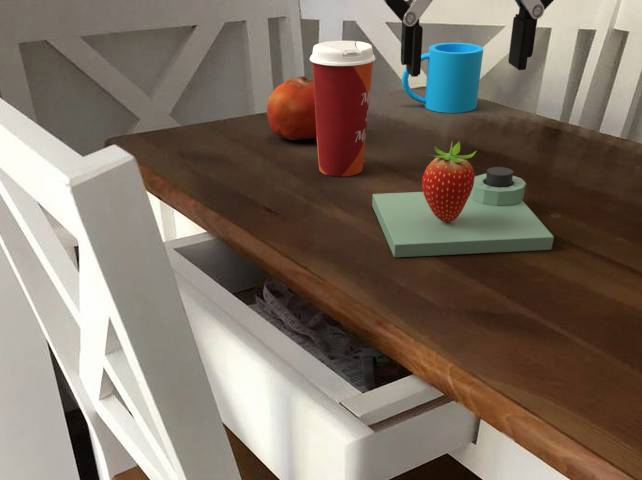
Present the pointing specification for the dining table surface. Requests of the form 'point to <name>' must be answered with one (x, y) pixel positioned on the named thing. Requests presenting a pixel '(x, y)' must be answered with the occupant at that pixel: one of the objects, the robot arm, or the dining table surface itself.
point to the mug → (450, 77)
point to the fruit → (448, 183)
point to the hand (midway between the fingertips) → (464, 70)
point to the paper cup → (341, 104)
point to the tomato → (293, 109)
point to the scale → (462, 223)
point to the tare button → (499, 177)
